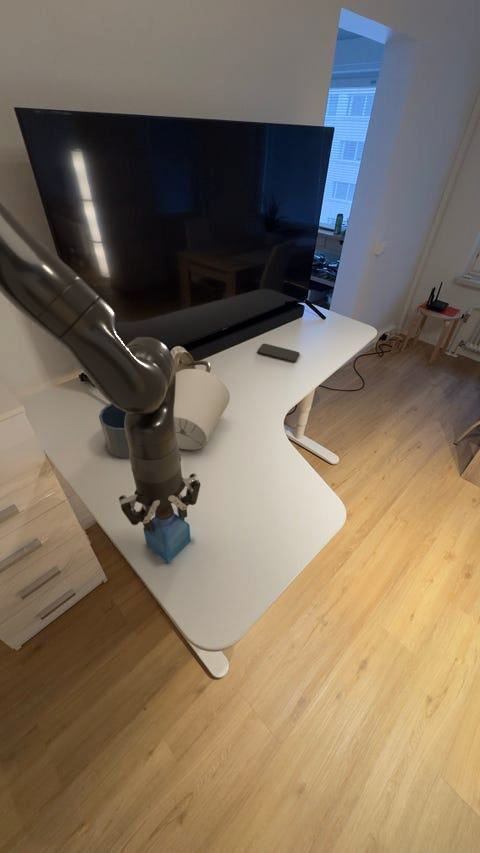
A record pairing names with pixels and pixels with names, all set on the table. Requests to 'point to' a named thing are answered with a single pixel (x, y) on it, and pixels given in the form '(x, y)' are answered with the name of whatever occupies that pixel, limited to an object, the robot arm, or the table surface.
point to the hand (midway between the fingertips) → (165, 522)
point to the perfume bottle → (167, 533)
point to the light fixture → (196, 400)
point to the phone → (278, 352)
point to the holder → (114, 430)
